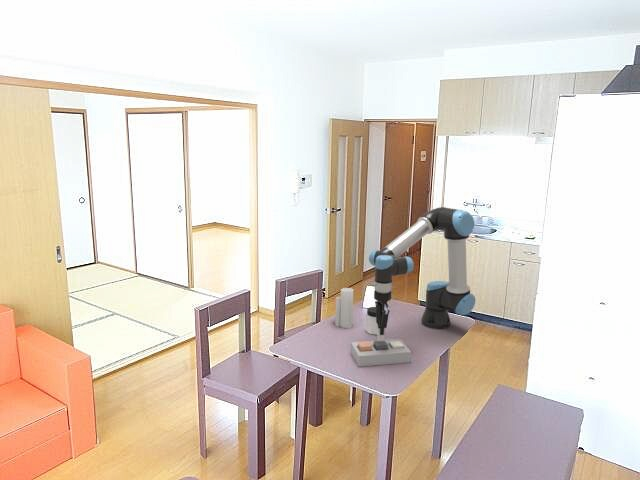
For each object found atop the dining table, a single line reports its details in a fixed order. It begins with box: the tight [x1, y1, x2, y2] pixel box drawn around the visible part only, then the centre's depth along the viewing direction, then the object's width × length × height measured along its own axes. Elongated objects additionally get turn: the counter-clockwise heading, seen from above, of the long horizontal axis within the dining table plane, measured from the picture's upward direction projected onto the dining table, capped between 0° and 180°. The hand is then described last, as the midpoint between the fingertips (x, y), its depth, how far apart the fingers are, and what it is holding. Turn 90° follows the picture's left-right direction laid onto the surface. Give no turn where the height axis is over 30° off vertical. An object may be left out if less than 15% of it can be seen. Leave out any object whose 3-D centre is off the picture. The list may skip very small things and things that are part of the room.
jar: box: [365, 306, 378, 336], centre depth 242 cm, size 9×8×12 cm
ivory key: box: [389, 341, 404, 349], centre depth 215 cm, size 5×5×3 cm
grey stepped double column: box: [334, 287, 354, 329], centre depth 249 cm, size 11×7×20 cm, turn 48°
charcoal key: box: [373, 340, 388, 350], centre depth 214 cm, size 5×5×3 cm
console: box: [350, 338, 412, 368], centre depth 214 cm, size 24×14×5 cm, turn 101°
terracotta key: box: [357, 340, 372, 352], centre depth 212 cm, size 5×5×3 cm
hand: (380, 340), depth 213 cm, fingers closed
